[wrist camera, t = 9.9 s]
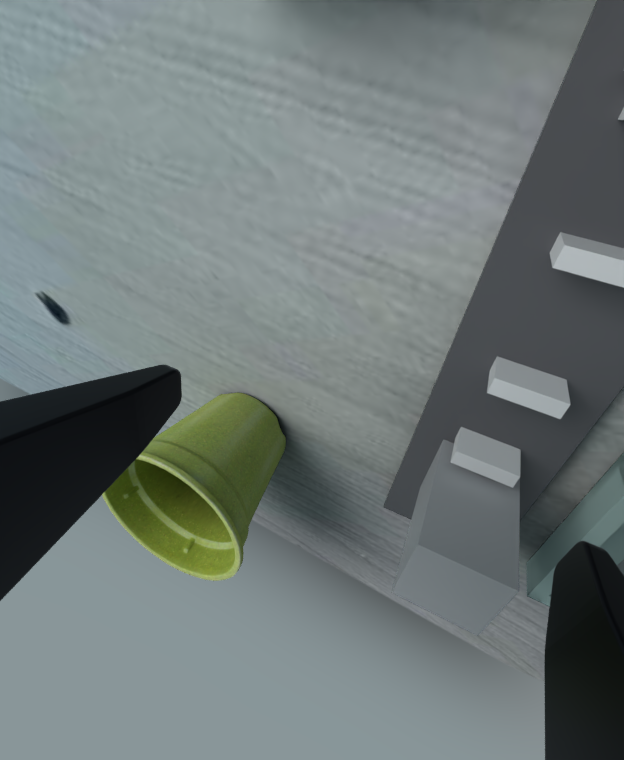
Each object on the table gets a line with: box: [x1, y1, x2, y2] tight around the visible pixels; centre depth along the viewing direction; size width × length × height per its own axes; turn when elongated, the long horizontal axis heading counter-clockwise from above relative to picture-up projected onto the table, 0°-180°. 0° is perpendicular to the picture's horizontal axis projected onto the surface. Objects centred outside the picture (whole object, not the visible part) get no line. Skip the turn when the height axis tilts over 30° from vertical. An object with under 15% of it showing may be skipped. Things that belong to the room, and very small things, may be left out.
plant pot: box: [102, 393, 286, 581], centre depth 26 cm, size 9×9×9 cm
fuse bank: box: [384, 0, 624, 636], centre depth 14 cm, size 7×30×8 cm, turn 169°
